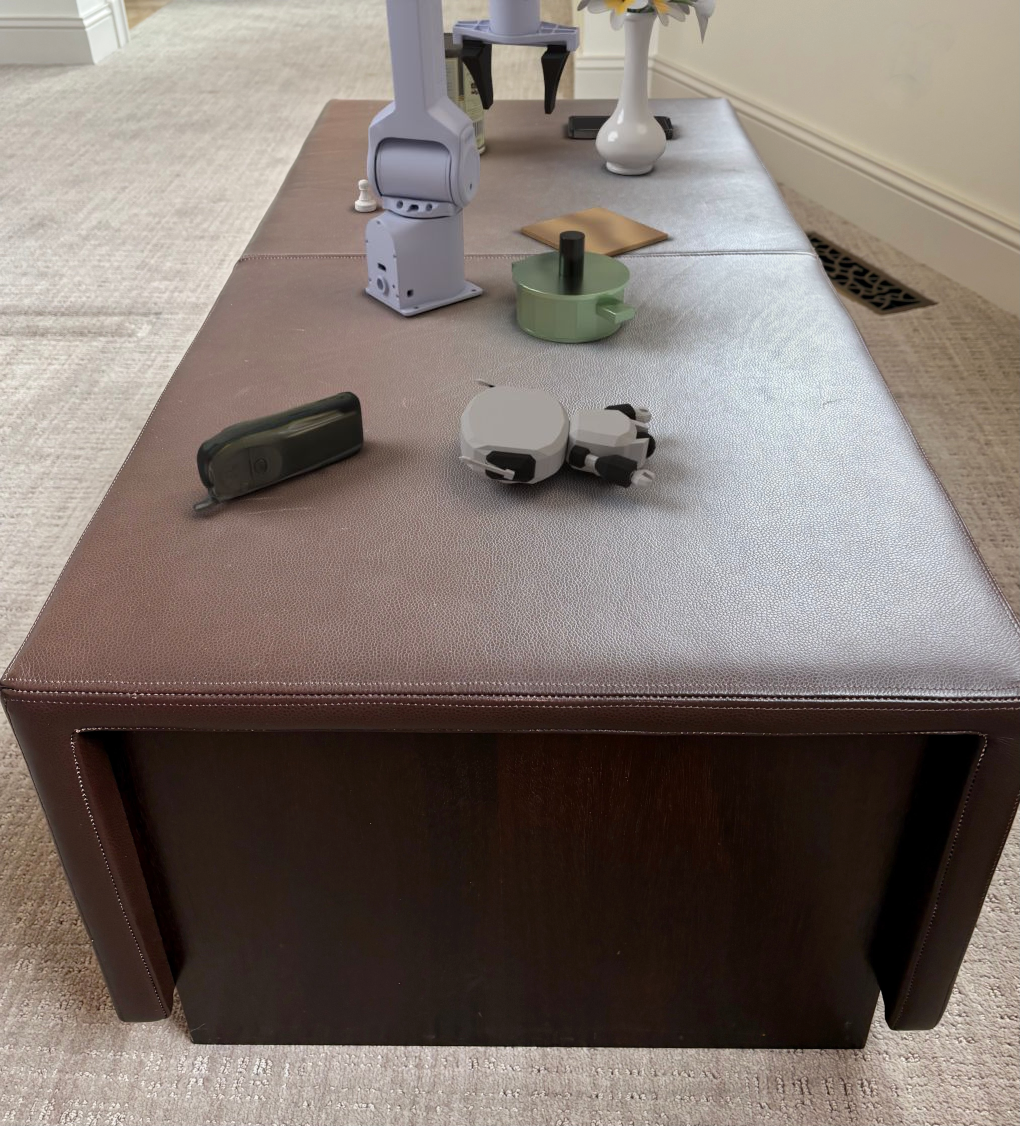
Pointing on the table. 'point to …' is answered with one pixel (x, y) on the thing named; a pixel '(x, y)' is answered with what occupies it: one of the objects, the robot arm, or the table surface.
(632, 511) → the table surface
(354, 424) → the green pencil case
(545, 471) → the robot toy
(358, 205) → the chess pawn
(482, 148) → the coffee can
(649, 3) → the flower vase
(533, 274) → the pot lid
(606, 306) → the pot
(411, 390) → the table surface
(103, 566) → the table surface
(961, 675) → the table surface
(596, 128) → the phone
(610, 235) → the trivet
